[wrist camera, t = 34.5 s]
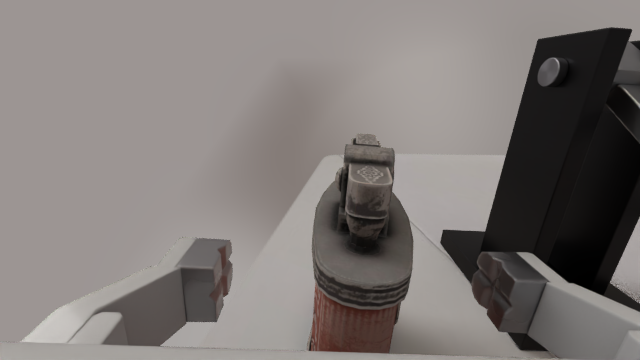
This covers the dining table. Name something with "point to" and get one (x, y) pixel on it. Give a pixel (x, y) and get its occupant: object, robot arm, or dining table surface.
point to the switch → (627, 91)
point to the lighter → (360, 254)
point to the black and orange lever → (565, 171)
